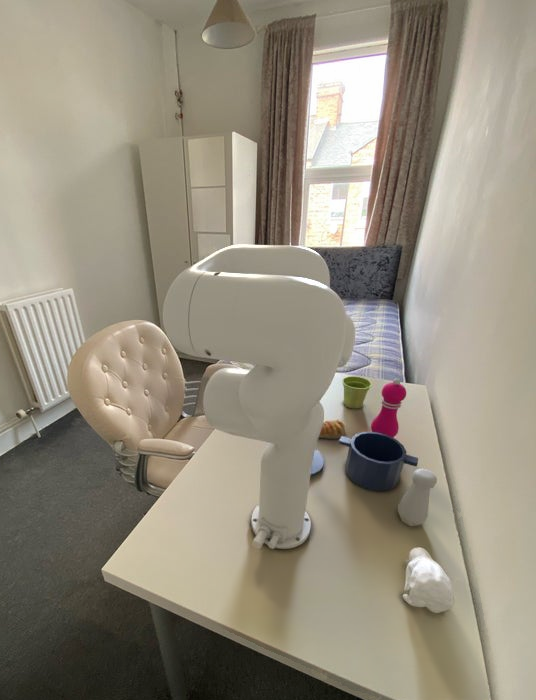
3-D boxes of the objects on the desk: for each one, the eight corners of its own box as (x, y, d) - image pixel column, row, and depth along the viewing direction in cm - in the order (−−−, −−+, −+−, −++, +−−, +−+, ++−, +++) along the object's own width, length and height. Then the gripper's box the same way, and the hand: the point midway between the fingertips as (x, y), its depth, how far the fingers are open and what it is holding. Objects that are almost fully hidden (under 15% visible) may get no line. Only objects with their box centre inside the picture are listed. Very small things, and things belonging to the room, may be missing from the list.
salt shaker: (426, 515, 73) (444, 470, 67) (422, 534, 69) (441, 488, 63) (397, 504, 76) (412, 460, 69) (392, 522, 72) (408, 476, 65)
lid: (314, 486, 81) (316, 468, 78) (263, 467, 87) (264, 450, 84) (329, 454, 91) (332, 438, 89) (283, 440, 97) (284, 424, 95)
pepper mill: (398, 440, 97) (416, 378, 87) (388, 451, 93) (406, 387, 83) (374, 430, 102) (388, 370, 92) (363, 440, 97) (378, 379, 87)
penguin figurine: (416, 580, 51) (407, 525, 62) (403, 616, 55) (396, 558, 65) (462, 594, 49) (445, 535, 60) (446, 629, 53) (432, 568, 63)
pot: (406, 502, 76) (416, 474, 72) (329, 476, 84) (334, 449, 80) (411, 470, 86) (420, 443, 82) (341, 449, 94) (346, 424, 89)
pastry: (317, 442, 96) (319, 431, 95) (308, 429, 102) (309, 419, 100) (347, 437, 98) (349, 427, 96) (336, 425, 104) (337, 415, 102)
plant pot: (335, 406, 114) (338, 384, 110) (342, 395, 121) (346, 373, 116) (363, 414, 110) (368, 391, 105) (369, 402, 116) (374, 379, 112)
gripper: (304, 358, 84) (297, 416, 92) (277, 382, 71) (272, 448, 79) (333, 363, 81) (324, 423, 89) (311, 390, 67) (302, 458, 75)
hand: (299, 435), depth 84 cm, fingers open, 9 cm apart
